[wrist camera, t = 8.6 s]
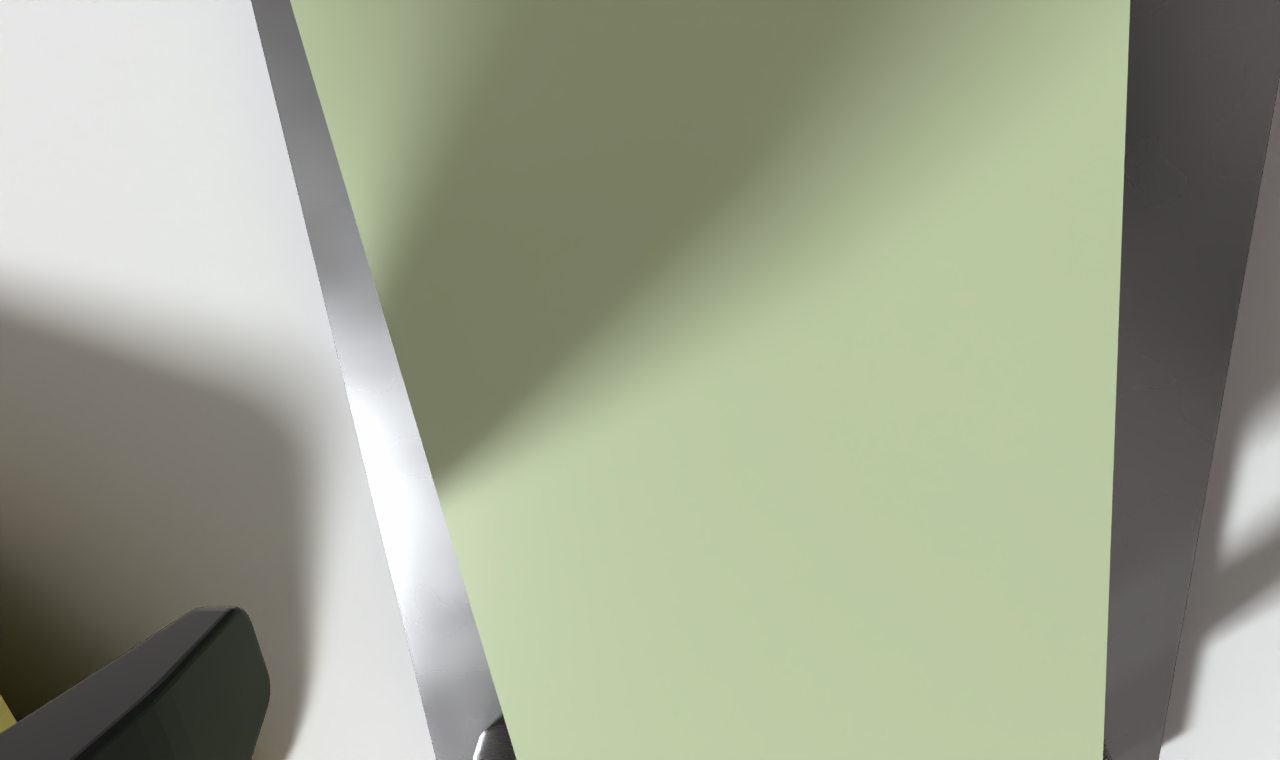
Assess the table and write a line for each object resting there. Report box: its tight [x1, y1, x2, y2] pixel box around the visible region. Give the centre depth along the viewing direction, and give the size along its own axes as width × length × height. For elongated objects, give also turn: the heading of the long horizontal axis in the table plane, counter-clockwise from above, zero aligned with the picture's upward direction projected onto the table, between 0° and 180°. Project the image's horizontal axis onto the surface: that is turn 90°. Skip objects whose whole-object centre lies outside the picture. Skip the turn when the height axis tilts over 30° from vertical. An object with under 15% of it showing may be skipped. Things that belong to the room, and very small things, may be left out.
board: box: [290, 0, 1130, 760], centre depth 12 cm, size 6×12×4 cm, turn 10°
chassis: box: [251, 0, 1280, 760], centre depth 13 cm, size 12×18×6 cm, turn 6°
